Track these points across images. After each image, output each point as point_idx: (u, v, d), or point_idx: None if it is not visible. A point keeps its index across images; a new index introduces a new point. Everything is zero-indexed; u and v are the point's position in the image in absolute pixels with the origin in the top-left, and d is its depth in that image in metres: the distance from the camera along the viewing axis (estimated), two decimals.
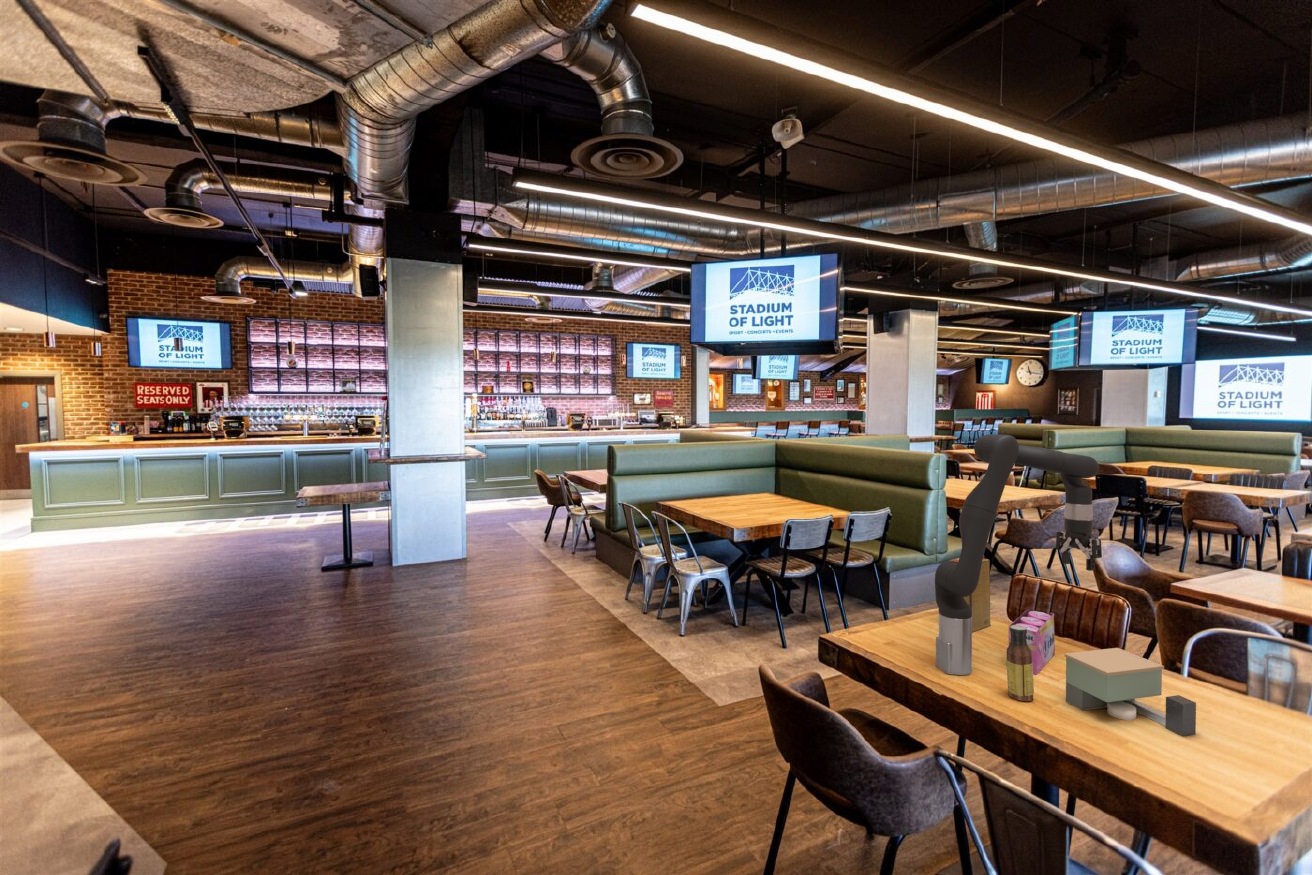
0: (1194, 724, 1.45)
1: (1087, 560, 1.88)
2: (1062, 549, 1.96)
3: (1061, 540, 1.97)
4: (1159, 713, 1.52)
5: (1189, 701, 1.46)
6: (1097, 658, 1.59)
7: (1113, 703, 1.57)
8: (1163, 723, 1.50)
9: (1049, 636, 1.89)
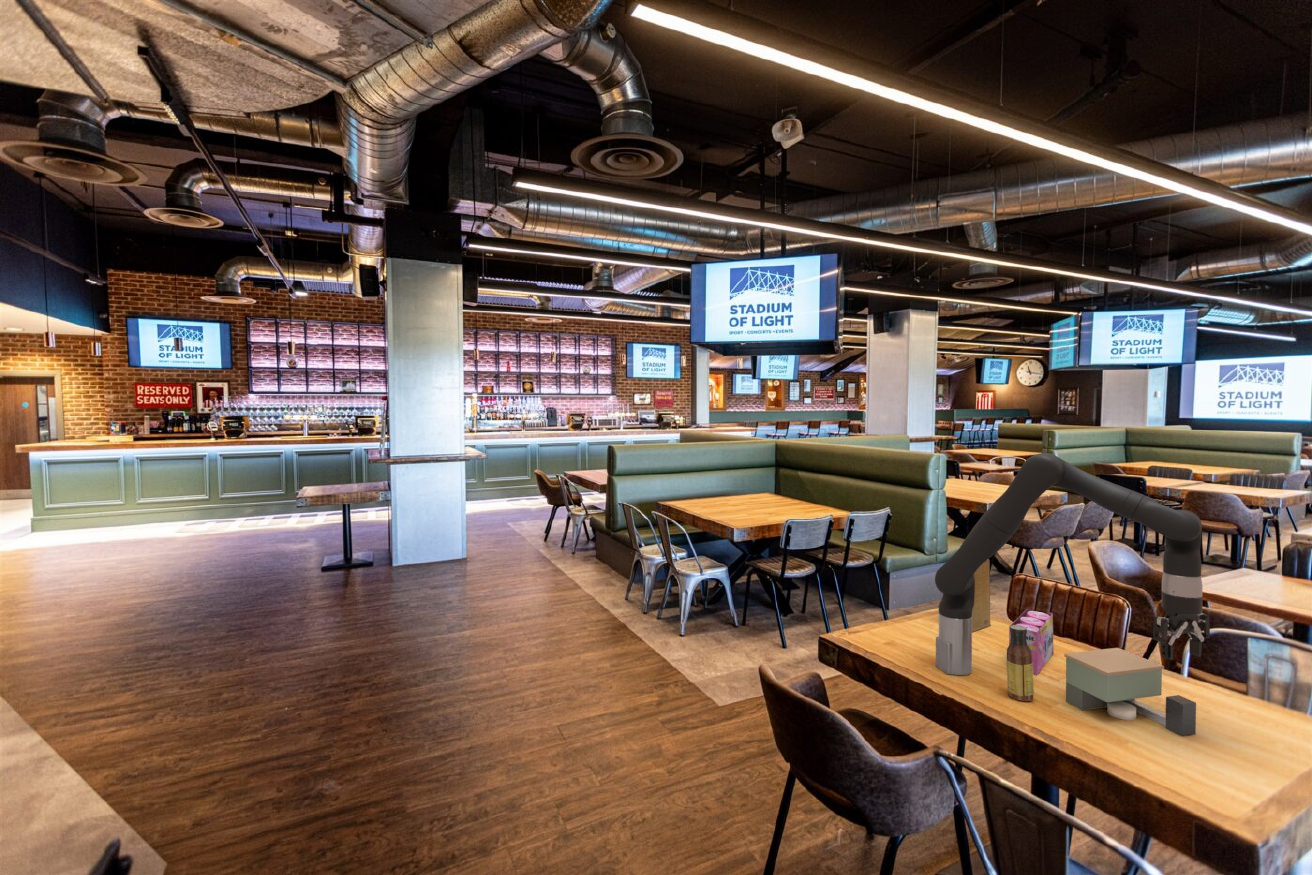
0: (1194, 724, 1.45)
1: (1200, 643, 1.46)
2: (1171, 641, 1.44)
3: None
4: (1159, 713, 1.52)
5: (1189, 701, 1.46)
6: (1097, 658, 1.59)
7: (1113, 703, 1.57)
8: (1163, 723, 1.50)
9: (1048, 636, 1.89)
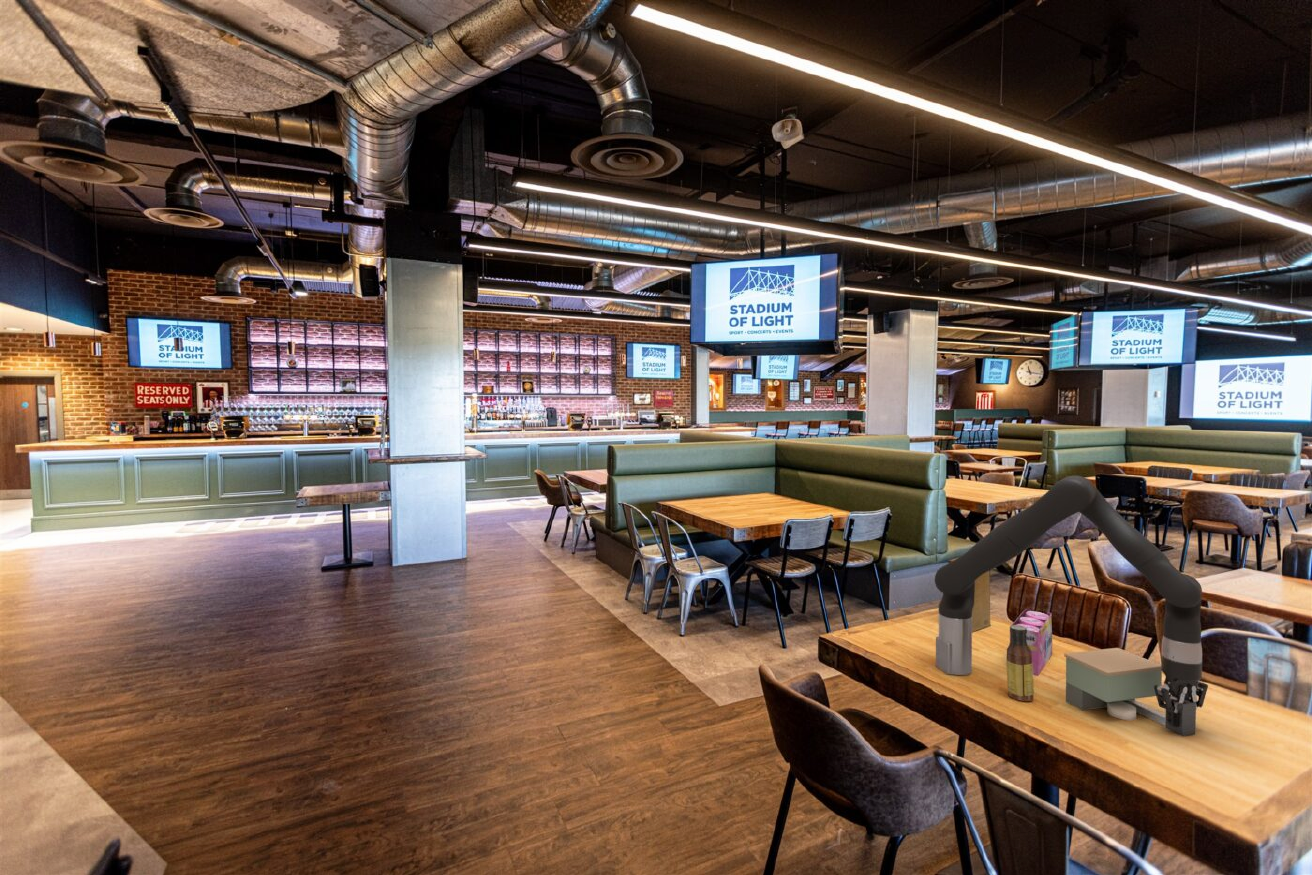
0: (1194, 724, 1.45)
1: None
2: (1177, 709, 1.45)
3: None
4: (1159, 713, 1.52)
5: (1189, 701, 1.46)
6: (1097, 658, 1.59)
7: (1113, 703, 1.57)
8: (1163, 723, 1.50)
9: (1048, 636, 1.90)
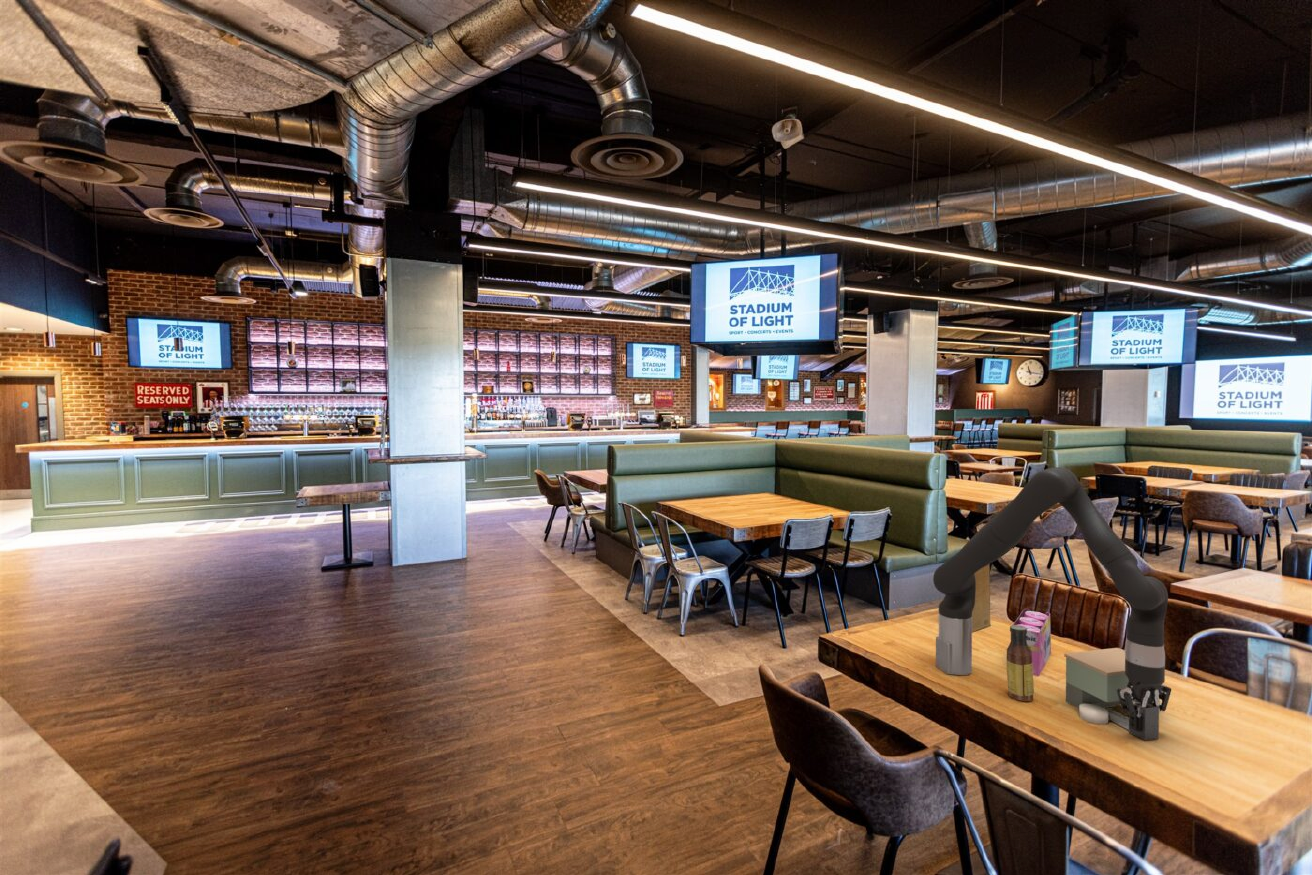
0: (1157, 728, 1.43)
1: None
2: (1140, 713, 1.43)
3: None
4: (1123, 717, 1.50)
5: (1152, 705, 1.44)
6: (1097, 658, 1.59)
7: (1085, 706, 1.55)
8: (1127, 727, 1.48)
9: (1047, 636, 1.90)
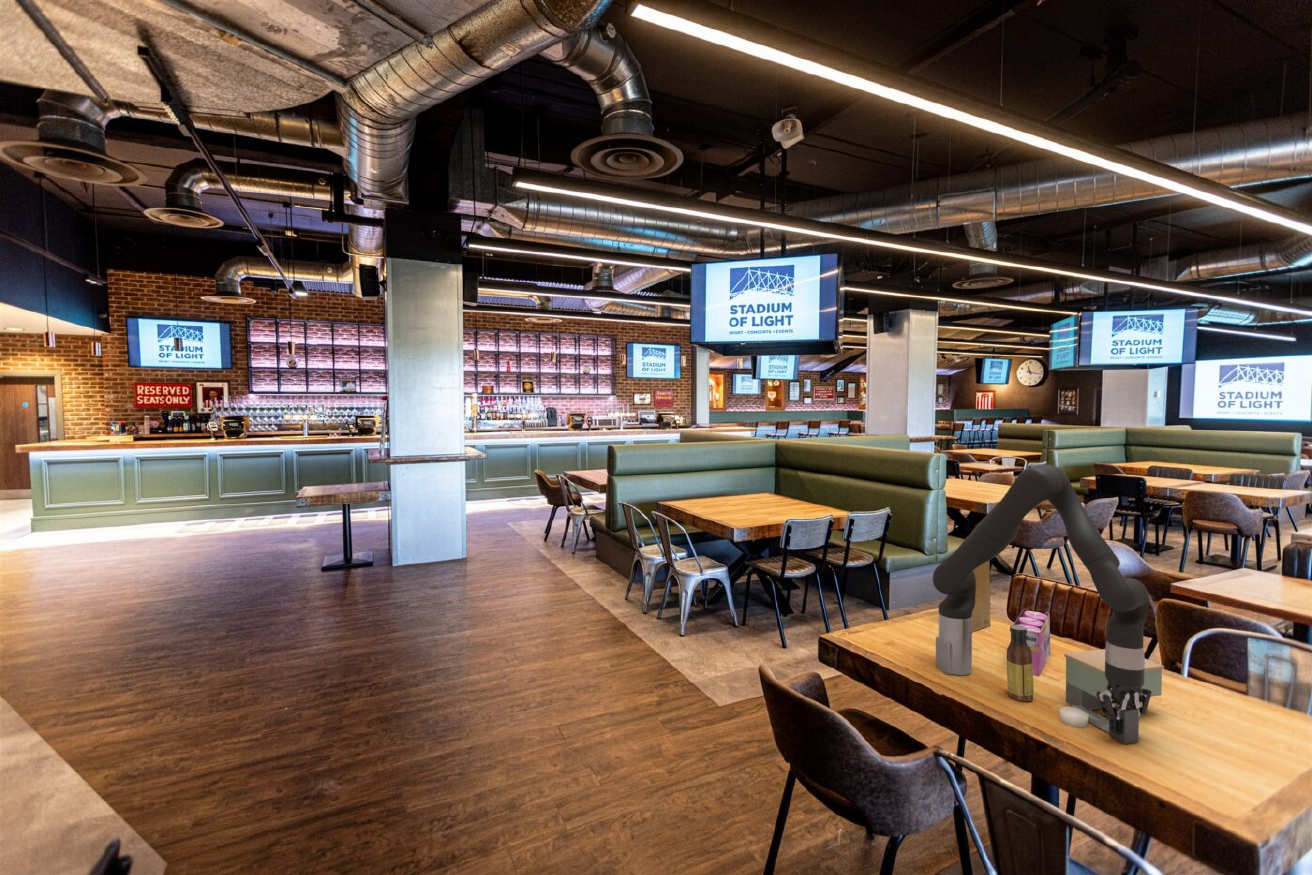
0: (1137, 731, 1.42)
1: None
2: (1119, 716, 1.42)
3: None
4: (1104, 719, 1.49)
5: (1132, 708, 1.43)
6: (1097, 658, 1.59)
7: (1066, 710, 1.54)
8: (1107, 730, 1.47)
9: (1047, 636, 1.90)
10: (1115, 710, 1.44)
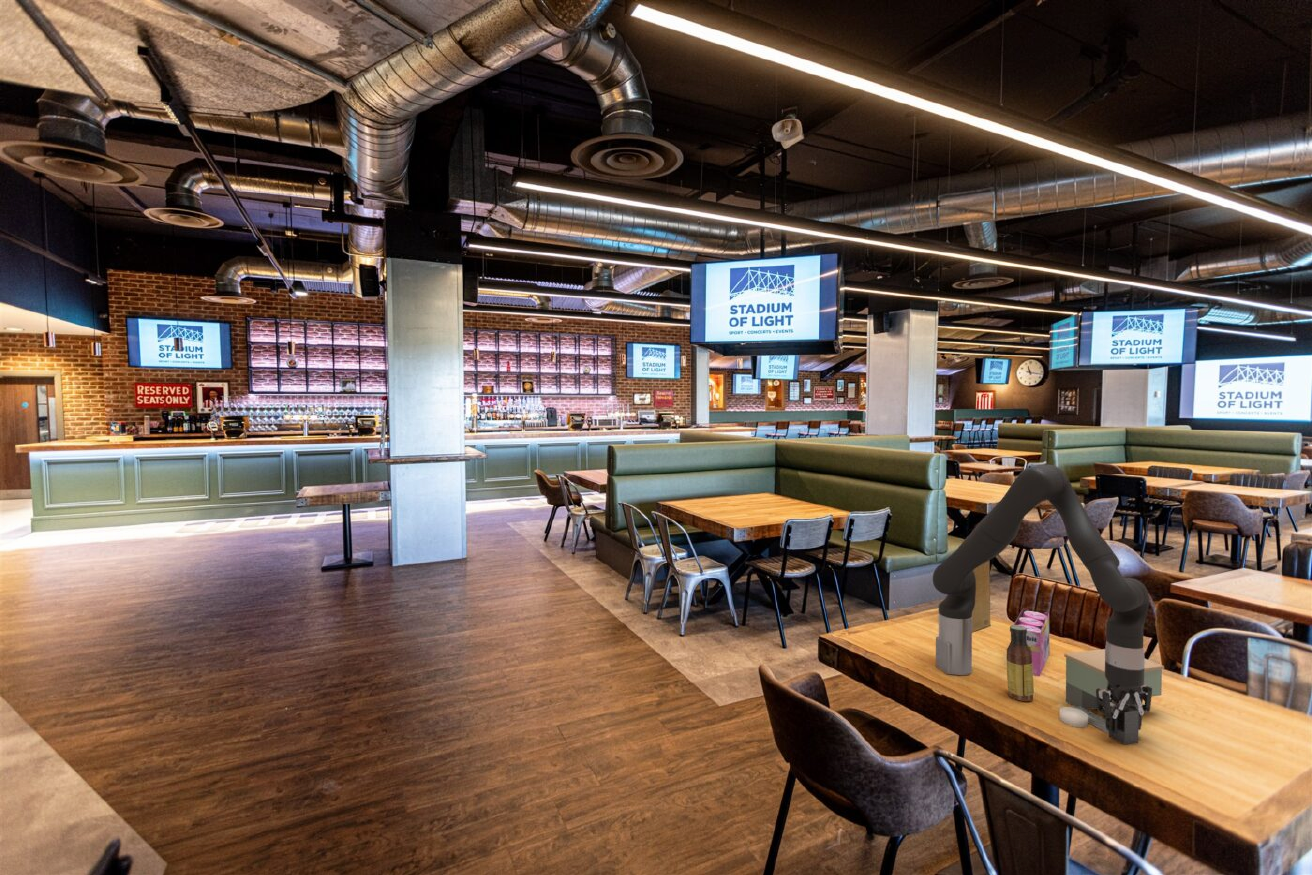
0: (1137, 732, 1.42)
1: (1139, 717, 1.43)
2: (1115, 714, 1.42)
3: None
4: (1104, 721, 1.49)
5: (1132, 709, 1.43)
6: (1097, 658, 1.59)
7: (1065, 710, 1.54)
8: (1107, 731, 1.47)
9: (1047, 636, 1.90)
10: None
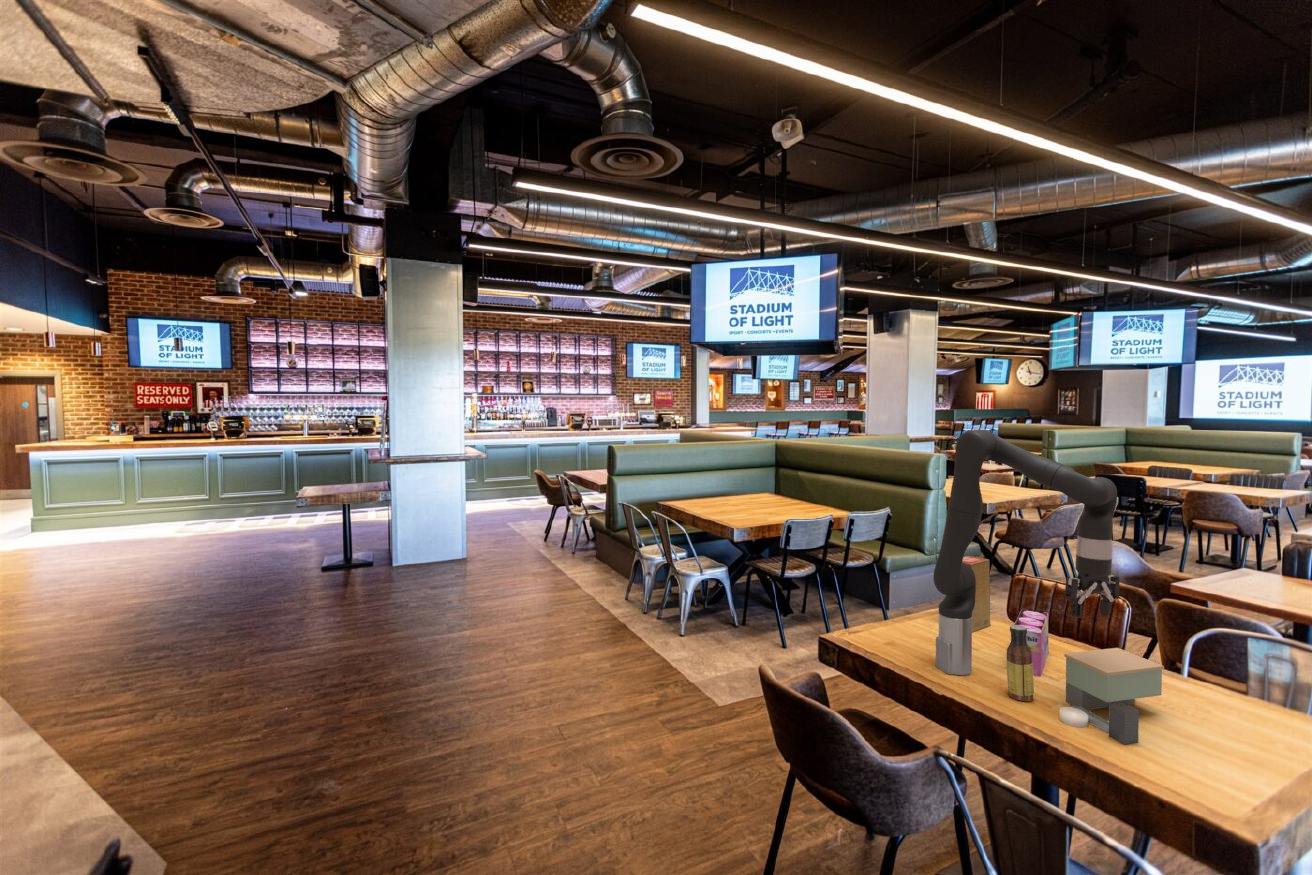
0: (1137, 732, 1.42)
1: (1109, 604, 1.54)
2: (1081, 600, 1.52)
3: None
4: (1104, 721, 1.49)
5: (1132, 709, 1.43)
6: (1097, 658, 1.59)
7: (1065, 710, 1.54)
8: (1107, 731, 1.47)
9: (1046, 636, 1.90)
10: (1115, 711, 1.44)
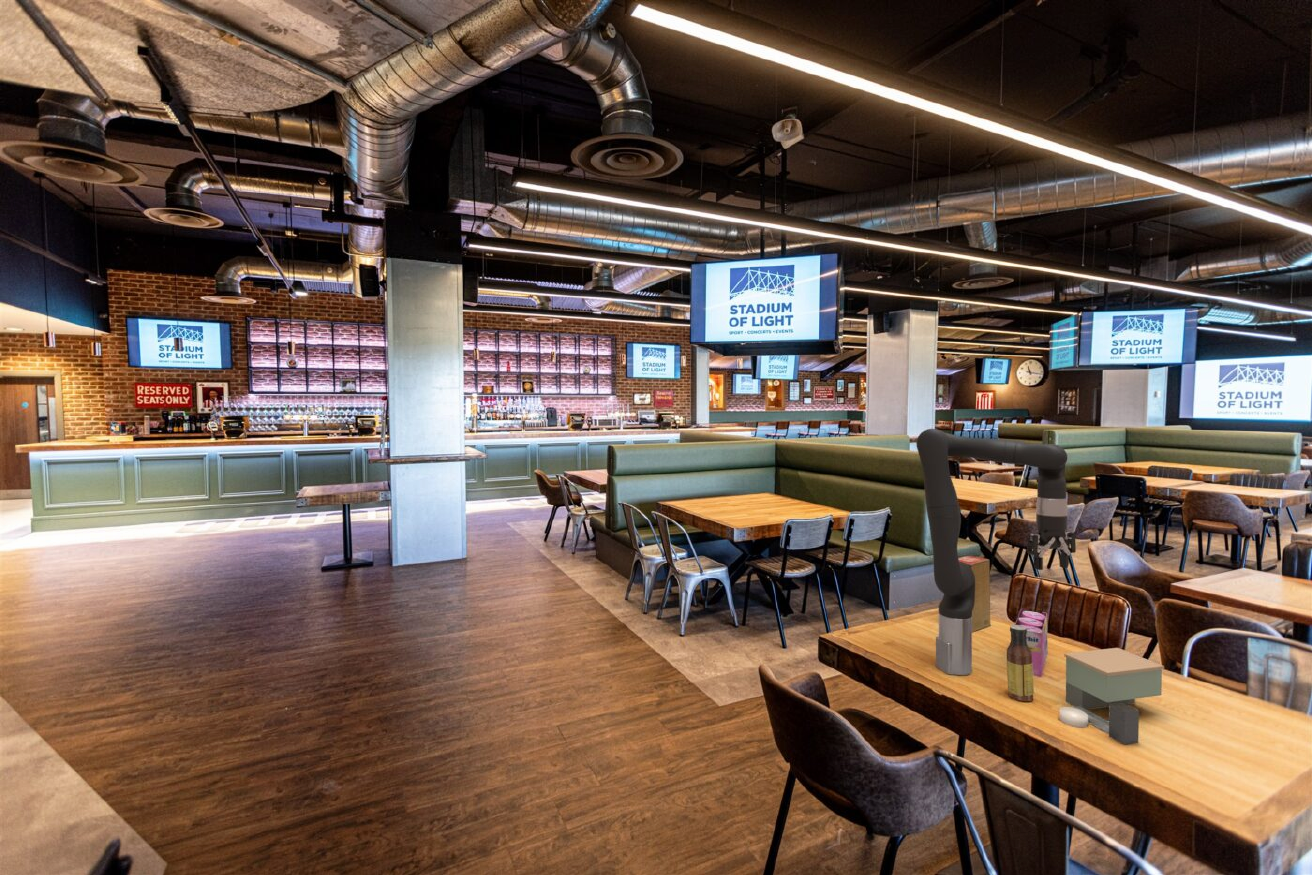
0: (1137, 732, 1.42)
1: (1067, 557, 1.72)
2: (1041, 553, 1.70)
3: None
4: (1104, 721, 1.49)
5: (1132, 709, 1.43)
6: (1097, 658, 1.59)
7: (1065, 710, 1.54)
8: (1107, 731, 1.47)
9: (1046, 636, 1.90)
10: (1115, 711, 1.44)
